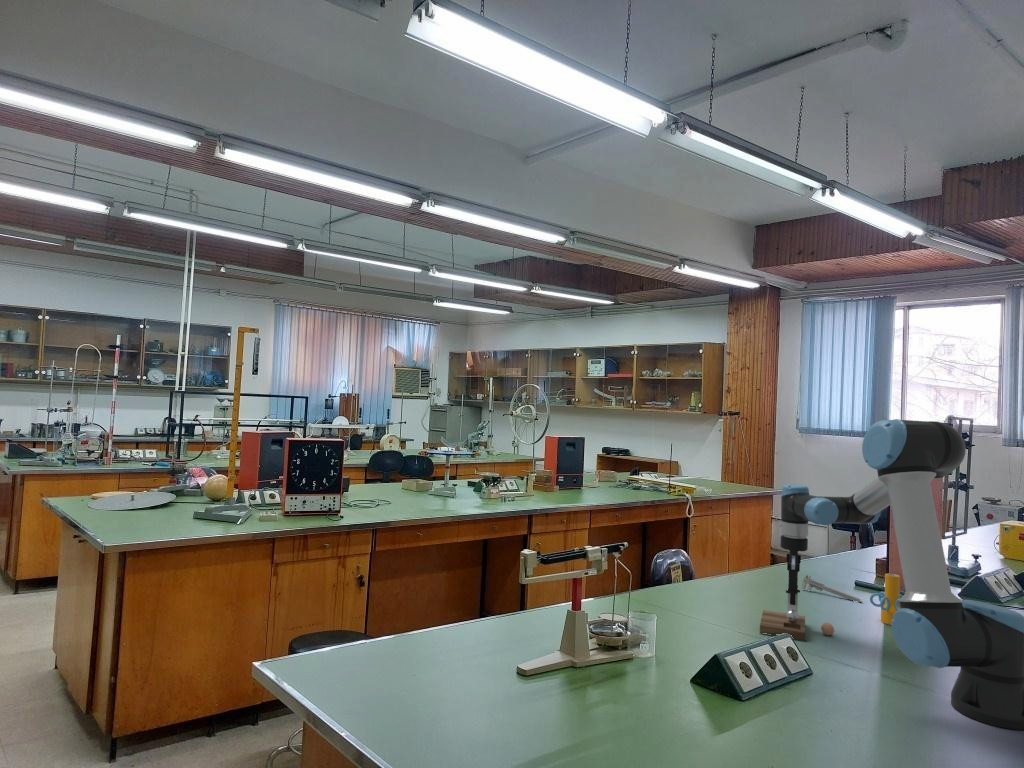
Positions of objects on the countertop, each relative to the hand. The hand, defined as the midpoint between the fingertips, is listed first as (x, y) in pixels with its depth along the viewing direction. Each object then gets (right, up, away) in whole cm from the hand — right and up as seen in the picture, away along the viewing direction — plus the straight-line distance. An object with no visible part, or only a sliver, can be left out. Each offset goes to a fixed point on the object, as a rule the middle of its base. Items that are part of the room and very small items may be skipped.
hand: (792, 614), depth 191 cm
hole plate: (-3, -4, -2) cm, 5 cm away
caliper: (+31, -7, +37) cm, 49 cm away
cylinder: (+35, -6, +8) cm, 37 cm away
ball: (+8, -2, -5) cm, 10 cm away
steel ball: (-1, 0, -2) cm, 2 cm away
